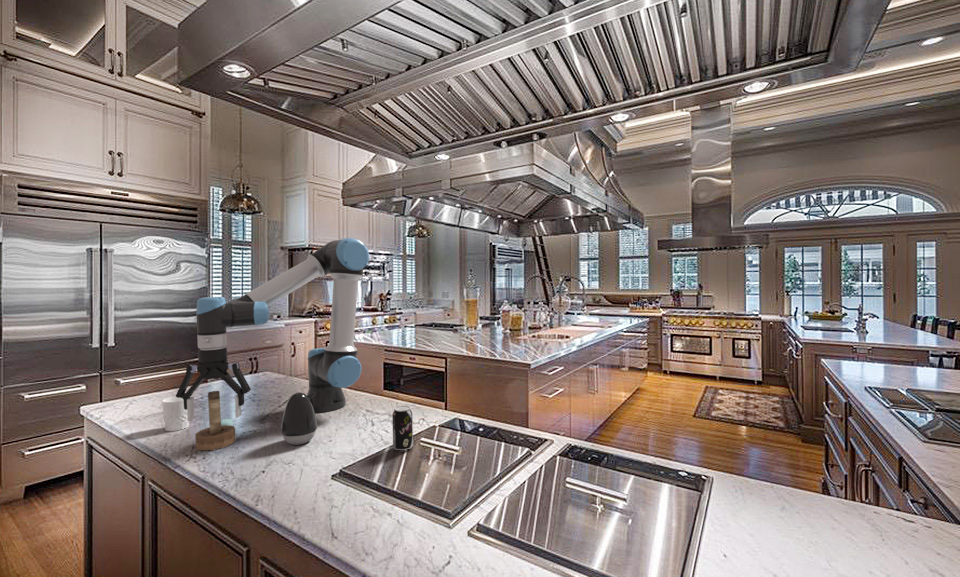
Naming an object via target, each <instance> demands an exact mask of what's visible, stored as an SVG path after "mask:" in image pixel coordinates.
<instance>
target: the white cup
mask: <svg viewBox="0 0 960 577" xmlns="http://www.w3.org/2000/svg"><path fill="white" fill-rule="evenodd" d="M161 406H162V415H163V424H164V430H165V431H166V432H176V431H177V430H178V431H181V429H182V430H185V429H187V428H189V427H190V421H188V417H187V410H185V409H184V400H183V398H177V397H176V396H172V397H167V398H164V399H162V400H161ZM188 426H189V427H188ZM184 428H185V429H184Z"/></svg>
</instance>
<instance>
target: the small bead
mask: <svg viewBox="0 0 960 577" xmlns="http://www.w3.org/2000/svg"><path fill="white" fill-rule="evenodd" d="M222 425H229V426H234V419H233V418H224V419H223V418H221V426H222Z"/></svg>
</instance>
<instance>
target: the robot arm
mask: <svg viewBox="0 0 960 577" xmlns="http://www.w3.org/2000/svg"><path fill="white" fill-rule="evenodd" d="M369 252H370V251H369V249H368V248H367V246H366V245H365V244H364V242H362V241H361V240H359V239H357V238H353V237H352V238H350V237H349V238H348V237H347V238H343V239H338V240H337V239H336V240H332V241H329V242H328V243H326V244H324V245H323V246H321V247H319V248H318V249H317V250H315V251H313V252H312V253H310V254H308V255H307V258H306V259H305V260H304V261H302V262H300V263H298V264H296V265H295V266H293V267H291V268H288V269H287V270H286V271H283V272H282V273H280V274H279V275H277V276H275V277H273V278H271V279H270V280H268V281H267V282H264V283H262V284H261V285H260V286H257V287H256V288H254V289H252V290H250V291H249V292H246V294H244V295H242V296H239V297H238V298H236V299H233V300H230V301H228V302H227V301H226V298H225V297H223V296H207V297H206V296H205V297H200V298H198V299H197V301H196V312H195V314H196V328H197V329H196V332H197V333H196V334H197V335H196V336H197V348H198V351H197V360H198V361H197V362H198V365H194V364H190V365H188V366H186V368H185V374H184V377H183V380H182V381H181V383H180V386H179V388H178V390H177V392H176V394H175V397H177V398H183V400H184V409H185V410H187V417H188V421H189V422H191V421H193V420H194V419H195V396H193V394H194V392H195V391H196V390H197V389H198V388H199V386H200V385H201V384H202V383H203V381H204V380H205V379H206V380H213V379H214V380H216V379H217V380H219V379H221V380H222V381H224V383H225V384H226V385H228V387H230V388H231V390H232V391H234V393H235V394H236V395H235V396H234V407H235V408H234V409H235V410H234V411H235V412H234V413H235V418H236V419H237V418H239V417H240V416H242V406H243V405H245V394H248V393H249V392H250V391H251V387H250V385H249V383H248V382H247V380H246V377H245V376H244V374H243V372H242V371H241V367H240V362H237V361H236V362H234V363H233V362H232V363H229V362H228V347H227V345H228V341H227V340H228V339H227V338H228V337H227V336H228V335H227V328H234V327H247V326H248V327H249V326H258V325H259V326H260V325H265V324H267V323H268V321H269V319H270V310H269V307H270V306H271V305H273V304H274V303H276V302H278V301H280V300H281V299H283V298H284V297H287V296H288V295H289V294H292V293H293V292H295V291H297V290H298V289H300V288H301V287H303V286H304V285H306V284H308V283H309V282H311V281H313V280H315V279H316V278H318V277H321V278H323V277H325V276H327V275H328V274H329V275H330V276H331V277H332V279H333V285H332V297H331V298H332V299H331V312H330V327H329V329H330V330H329V344H328V345H327V346H326V347H319V348H312V349H310V350H309V351H308V352H307V354H308V355H307V365H308V366H307V368H308V390H307V394H306V396H307V395H309V394H310V393H312V392H315V395H314V396H313V397H311V398H310V399H309V400H310V402H311V404H312V406H313V409H314V412H315V413H321V412H322V413H323V412H331V411H336V410H339V409H341V408H343V407H345V406H346V402H347V401H346V396H345V393H344V390H343V389H344V388H348V387H351V386H353V385H354V384H355V383H356V382H357V381H358V380H359V379H360V376H361V374H362V364H361V362H360V361H359V359H358V348H357V347H356V346H355V344H354V343H355V329H356V327H355V326H356V314H357V299H358V284H359V280H360V279H362V278H363V274H364V268H365V267H366V266H367V265H368V264H369V261H370V253H369ZM229 369H230V371H232V372H233V375H234V377H235V379H236V380H237V382H236V381H235V379H234V378H233V377H232V376H231V374H230V373H229V372H228V370H229ZM196 371H198V373H200V375H199V376H198V377H197V378H196V380H195V381H194V382H193V384H191V386H189V385H190V382H191V380H192V378H193V376H194V375H195V374H194V373H196ZM188 387H189V388H188ZM187 389H188V390H187Z"/></svg>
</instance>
